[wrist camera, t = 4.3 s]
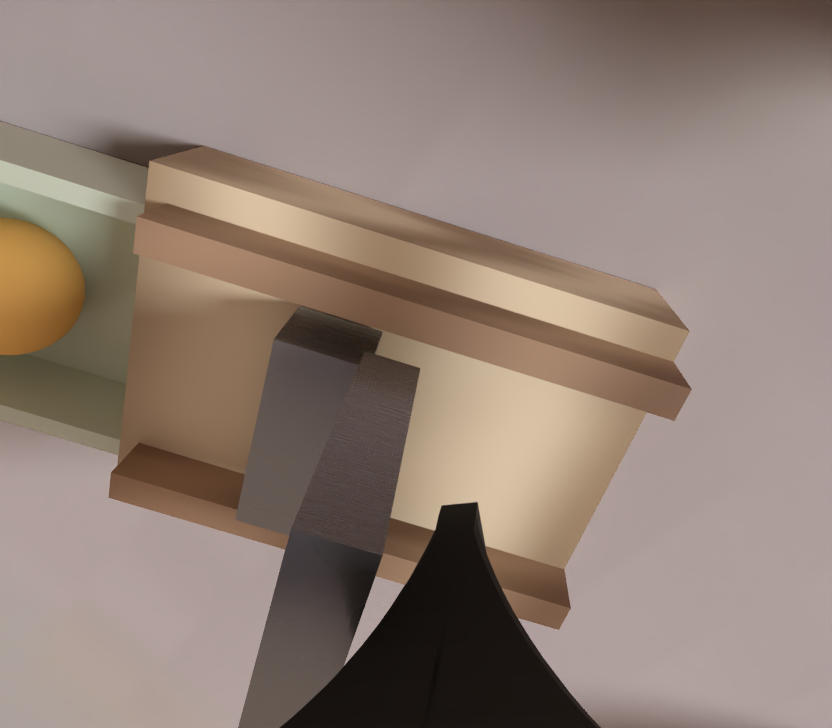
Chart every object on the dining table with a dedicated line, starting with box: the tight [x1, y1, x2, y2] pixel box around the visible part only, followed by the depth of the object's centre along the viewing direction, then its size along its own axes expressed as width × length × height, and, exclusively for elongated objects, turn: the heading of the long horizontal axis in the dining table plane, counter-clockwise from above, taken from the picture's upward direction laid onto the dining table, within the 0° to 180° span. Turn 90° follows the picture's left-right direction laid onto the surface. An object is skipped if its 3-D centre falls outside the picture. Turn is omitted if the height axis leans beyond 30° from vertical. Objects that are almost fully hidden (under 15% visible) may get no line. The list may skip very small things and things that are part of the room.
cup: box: [0, 121, 149, 455], centre depth 17 cm, size 6×7×3 cm
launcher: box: [109, 146, 692, 630], centre depth 17 cm, size 12×9×4 cm
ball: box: [0, 217, 85, 355], centre depth 16 cm, size 4×4×4 cm
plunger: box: [235, 306, 420, 728], centre depth 12 cm, size 3×5×7 cm, turn 163°
